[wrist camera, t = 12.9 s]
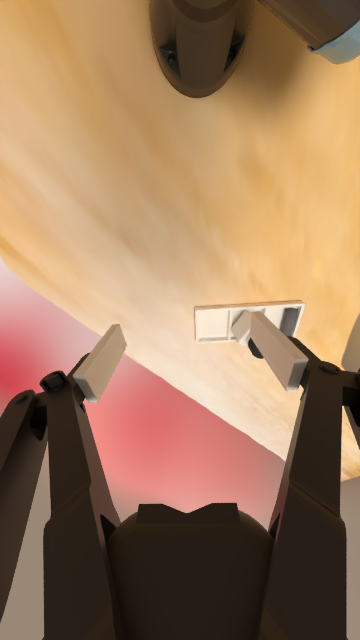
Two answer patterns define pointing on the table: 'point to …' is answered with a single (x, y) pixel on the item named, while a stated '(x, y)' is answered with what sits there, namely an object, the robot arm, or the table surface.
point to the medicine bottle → (245, 333)
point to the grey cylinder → (289, 321)
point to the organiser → (220, 319)
